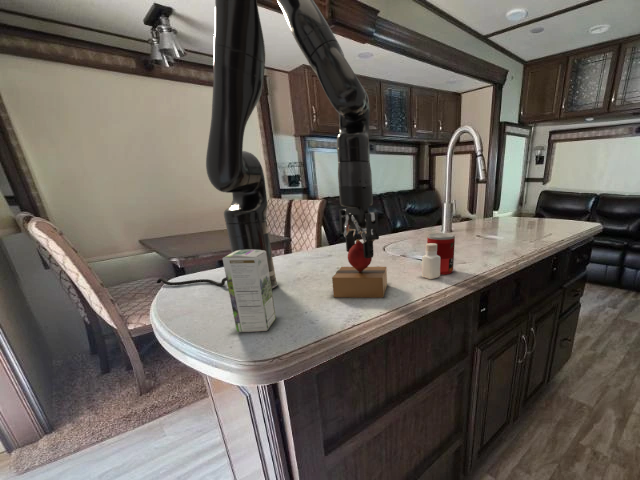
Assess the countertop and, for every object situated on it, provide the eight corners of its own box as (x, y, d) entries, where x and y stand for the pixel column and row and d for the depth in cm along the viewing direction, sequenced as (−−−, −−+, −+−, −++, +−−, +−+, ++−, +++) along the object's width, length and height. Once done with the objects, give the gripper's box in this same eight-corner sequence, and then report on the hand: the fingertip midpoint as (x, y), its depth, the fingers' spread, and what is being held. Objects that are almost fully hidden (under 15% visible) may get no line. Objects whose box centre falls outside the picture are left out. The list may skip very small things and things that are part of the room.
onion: (374, 268, 81) (372, 237, 78) (369, 275, 76) (368, 241, 73) (351, 268, 82) (349, 237, 79) (346, 274, 76) (343, 241, 73)
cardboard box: (333, 297, 76) (331, 277, 74) (342, 284, 85) (341, 266, 84) (383, 297, 75) (382, 277, 74) (387, 284, 85) (386, 266, 83)
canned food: (454, 274, 92) (456, 237, 88) (427, 275, 93) (428, 237, 89) (451, 268, 100) (452, 232, 96) (426, 268, 100) (426, 233, 96)
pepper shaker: (420, 277, 91) (421, 244, 87) (430, 274, 93) (431, 242, 90) (430, 280, 88) (431, 246, 85) (440, 277, 90) (441, 244, 87)
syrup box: (247, 320, 64) (233, 249, 59) (277, 319, 65) (266, 248, 59) (236, 333, 59) (219, 256, 54) (269, 331, 59) (255, 255, 54)
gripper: (326, 184, 75) (332, 252, 80) (356, 184, 64) (361, 262, 70) (354, 183, 79) (358, 248, 85) (387, 183, 68) (388, 257, 74)
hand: (359, 254), depth 77 cm, fingers open, 8 cm apart
